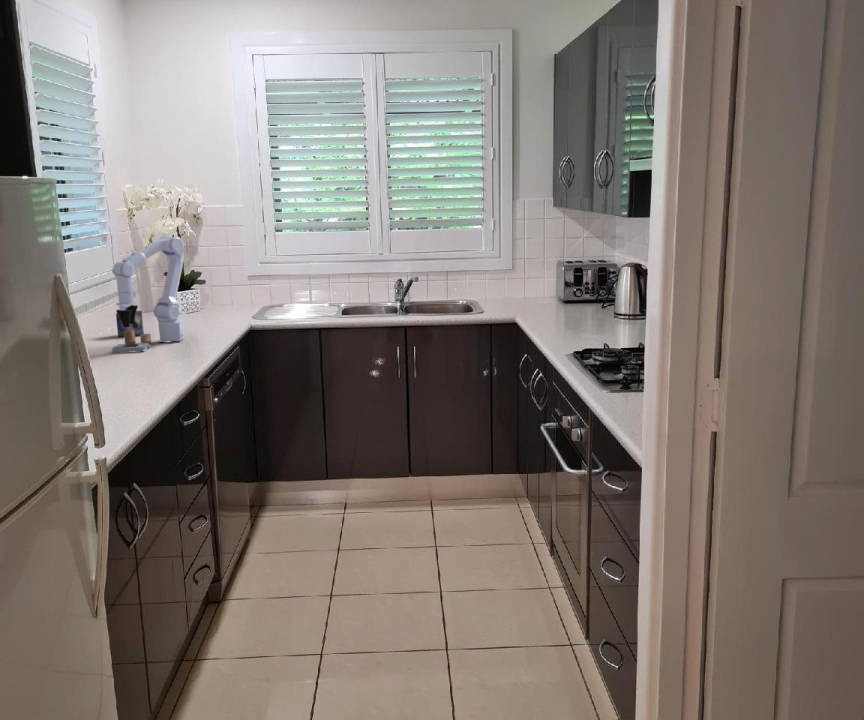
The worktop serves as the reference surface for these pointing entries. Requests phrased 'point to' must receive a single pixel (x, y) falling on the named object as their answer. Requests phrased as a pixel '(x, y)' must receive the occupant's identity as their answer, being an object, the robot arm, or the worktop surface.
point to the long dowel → (129, 338)
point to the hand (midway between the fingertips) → (129, 325)
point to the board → (122, 347)
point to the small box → (131, 325)
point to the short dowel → (145, 338)
